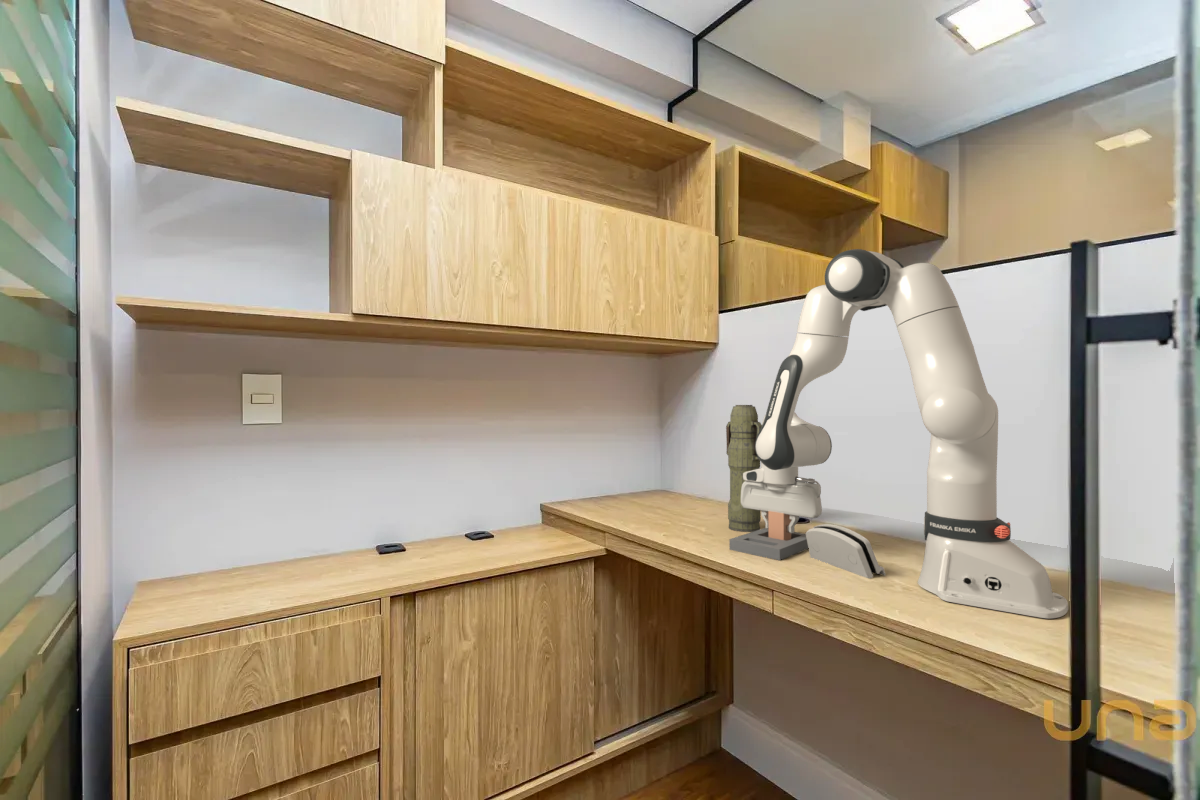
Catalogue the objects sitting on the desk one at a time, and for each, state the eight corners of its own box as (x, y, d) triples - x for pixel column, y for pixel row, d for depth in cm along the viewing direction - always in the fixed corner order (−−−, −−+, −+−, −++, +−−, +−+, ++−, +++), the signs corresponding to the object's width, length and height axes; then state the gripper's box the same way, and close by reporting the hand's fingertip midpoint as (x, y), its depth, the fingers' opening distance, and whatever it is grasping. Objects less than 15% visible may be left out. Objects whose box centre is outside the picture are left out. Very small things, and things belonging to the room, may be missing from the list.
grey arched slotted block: (887, 575, 112) (874, 531, 111) (871, 586, 110) (858, 541, 109) (826, 554, 128) (814, 515, 126) (811, 563, 126) (799, 524, 125)
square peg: (791, 543, 136) (791, 511, 136) (783, 546, 133) (783, 513, 133) (776, 540, 139) (776, 509, 139) (768, 543, 136) (768, 511, 136)
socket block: (815, 545, 136) (815, 535, 136) (779, 560, 123) (779, 549, 123) (767, 536, 145) (767, 527, 145) (729, 549, 132) (729, 539, 132)
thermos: (735, 522, 162) (735, 404, 162) (771, 529, 153) (770, 404, 153) (717, 527, 156) (717, 404, 156) (753, 534, 147) (753, 405, 148)
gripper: (826, 478, 131) (826, 535, 131) (750, 470, 146) (750, 522, 146) (814, 480, 127) (815, 540, 127) (737, 472, 141) (737, 526, 141)
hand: (779, 530), depth 136 cm, fingers closed on square peg, 4 cm apart
